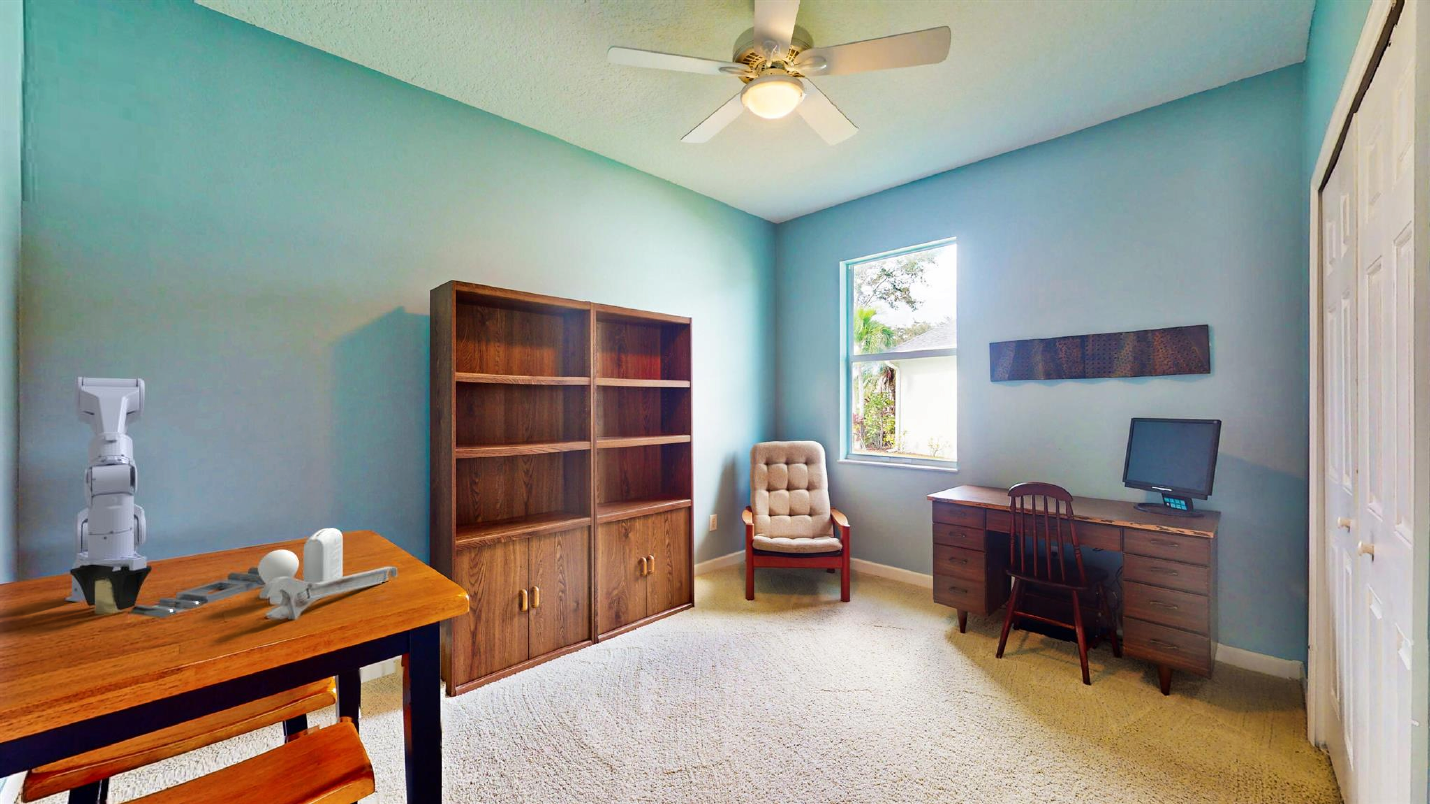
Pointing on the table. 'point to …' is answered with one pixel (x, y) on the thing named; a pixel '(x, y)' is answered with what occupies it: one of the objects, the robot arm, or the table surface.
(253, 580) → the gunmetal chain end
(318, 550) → the photo printer
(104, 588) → the brass pin
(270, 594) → the wrench
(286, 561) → the lightbulb
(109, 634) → the table surface
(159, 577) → the table surface
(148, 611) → the steel chain end
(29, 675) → the table surface
